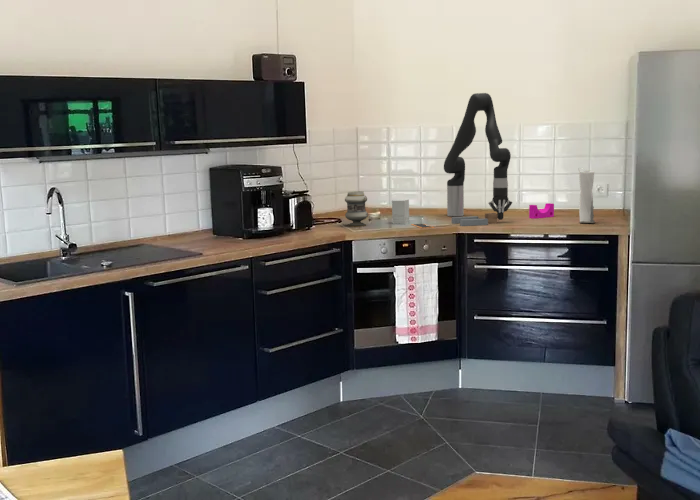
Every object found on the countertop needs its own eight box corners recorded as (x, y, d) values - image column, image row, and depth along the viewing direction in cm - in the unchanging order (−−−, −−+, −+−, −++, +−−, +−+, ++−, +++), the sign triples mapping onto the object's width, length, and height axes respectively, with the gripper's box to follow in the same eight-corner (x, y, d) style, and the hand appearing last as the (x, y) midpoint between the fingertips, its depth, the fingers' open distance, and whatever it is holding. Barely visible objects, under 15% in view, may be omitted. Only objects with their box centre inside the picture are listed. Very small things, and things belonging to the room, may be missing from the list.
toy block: (545, 216, 448) (545, 203, 447) (553, 217, 443) (554, 203, 442) (525, 218, 440) (526, 204, 439) (534, 219, 435) (534, 205, 434)
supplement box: (409, 222, 429) (409, 199, 427) (404, 224, 423) (404, 200, 421) (397, 222, 432) (396, 199, 431) (391, 223, 426) (391, 200, 424)
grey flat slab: (451, 223, 423) (451, 217, 423) (476, 221, 426) (476, 216, 425) (462, 226, 407) (462, 220, 407) (487, 224, 410) (487, 219, 410)
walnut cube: (484, 222, 421) (484, 213, 420) (493, 222, 422) (493, 213, 421) (488, 223, 416) (488, 214, 416) (497, 223, 417) (497, 213, 417)
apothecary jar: (341, 225, 424) (341, 191, 421) (362, 224, 428) (361, 190, 426) (350, 227, 413) (350, 192, 410) (372, 226, 417) (371, 191, 415)
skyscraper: (576, 222, 411) (577, 167, 407) (578, 221, 418) (579, 167, 414) (593, 222, 408) (594, 167, 404) (595, 221, 415) (596, 167, 411)
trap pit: (411, 224, 419) (411, 224, 419) (423, 224, 421) (423, 223, 421) (421, 228, 402) (421, 227, 402) (434, 227, 403) (434, 227, 403)
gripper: (509, 185, 423) (509, 218, 425) (485, 186, 420) (485, 219, 422) (515, 186, 416) (515, 219, 418) (491, 187, 413) (491, 220, 415)
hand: (500, 219), depth 420 cm, fingers closed
